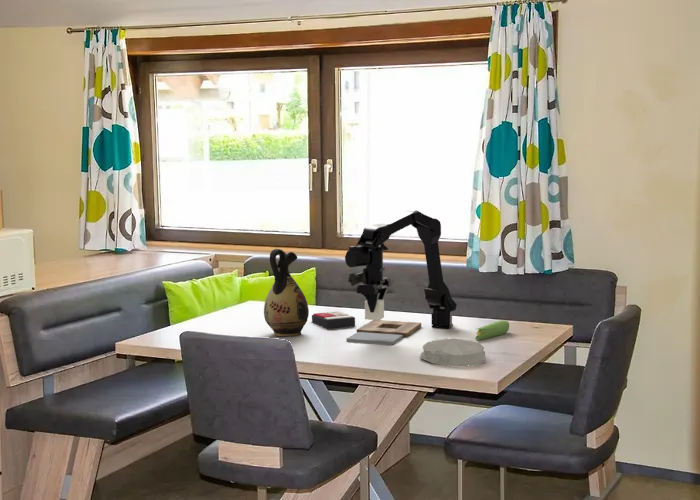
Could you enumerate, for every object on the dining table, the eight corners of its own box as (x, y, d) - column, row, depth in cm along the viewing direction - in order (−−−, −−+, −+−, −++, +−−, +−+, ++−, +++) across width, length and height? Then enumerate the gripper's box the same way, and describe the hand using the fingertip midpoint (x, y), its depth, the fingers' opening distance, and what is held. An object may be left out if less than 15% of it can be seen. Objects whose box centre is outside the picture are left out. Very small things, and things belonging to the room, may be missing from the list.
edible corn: (514, 321, 297) (504, 315, 300) (479, 332, 283) (468, 326, 286) (511, 334, 299) (500, 329, 301) (475, 346, 285) (465, 340, 288)
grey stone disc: (488, 354, 270) (488, 332, 269) (484, 368, 250) (484, 345, 250) (424, 352, 274) (424, 330, 274) (415, 366, 255) (415, 343, 254)
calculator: (338, 310, 324) (355, 315, 311) (338, 321, 325) (355, 327, 311) (311, 313, 320) (327, 317, 306) (311, 324, 320) (327, 330, 307)
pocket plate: (421, 326, 309) (421, 322, 309) (406, 337, 292) (406, 332, 292) (373, 323, 315) (373, 319, 315) (356, 333, 299) (356, 329, 298)
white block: (384, 317, 290) (383, 299, 289) (379, 320, 285) (379, 302, 284) (369, 316, 291) (369, 298, 291) (364, 319, 287) (364, 301, 286)
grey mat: (402, 338, 291) (402, 335, 291) (392, 344, 281) (392, 341, 281) (357, 334, 297) (357, 331, 297) (346, 341, 287) (346, 338, 286)
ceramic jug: (283, 327, 310) (282, 244, 306) (317, 332, 301) (316, 247, 297) (251, 336, 296) (249, 249, 292) (286, 342, 287) (285, 252, 283)
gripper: (360, 260, 297) (361, 304, 299) (341, 267, 280) (342, 314, 282) (391, 261, 294) (392, 306, 295) (373, 268, 276) (374, 316, 278)
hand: (374, 310), depth 288 cm, fingers closed on white block, 5 cm apart
